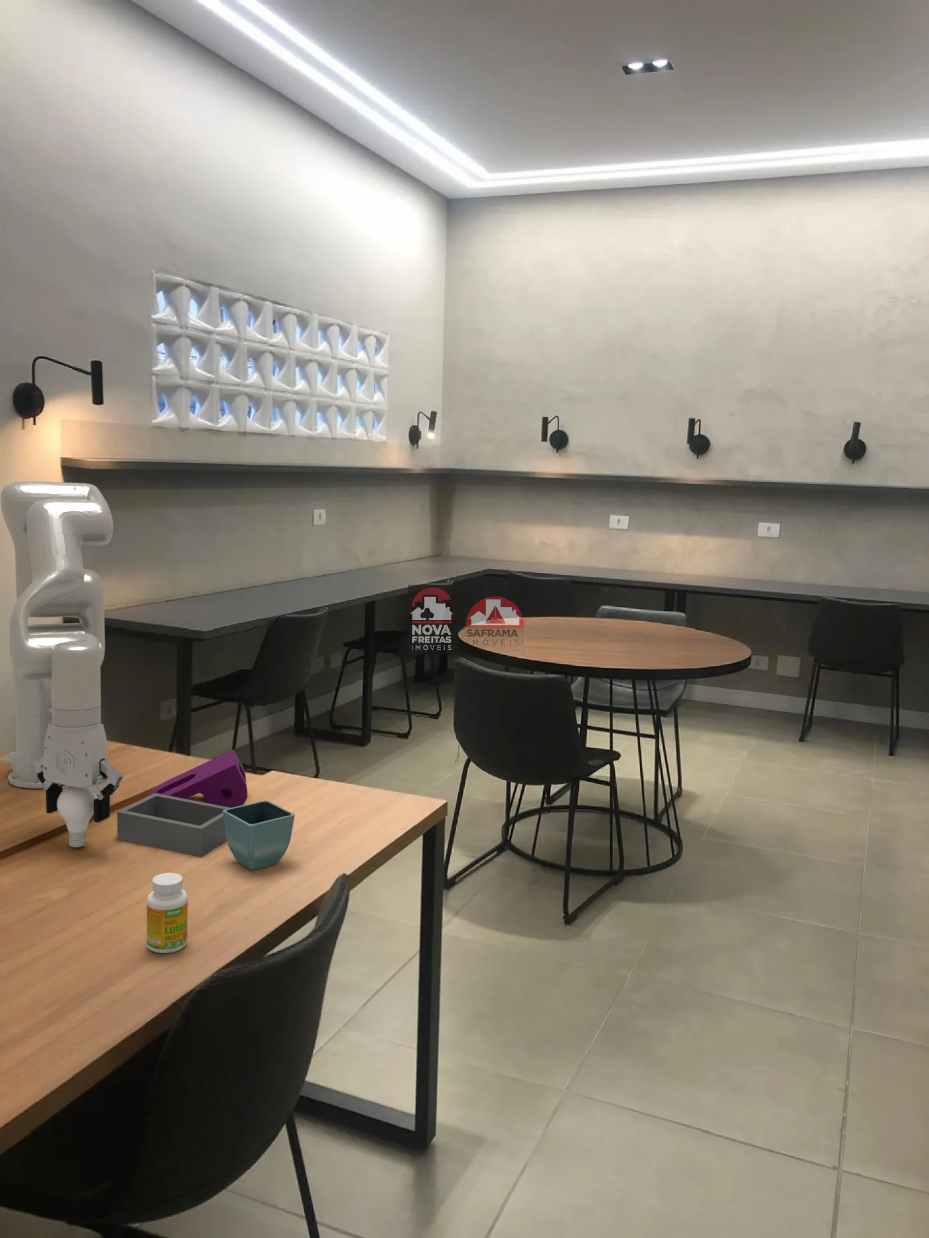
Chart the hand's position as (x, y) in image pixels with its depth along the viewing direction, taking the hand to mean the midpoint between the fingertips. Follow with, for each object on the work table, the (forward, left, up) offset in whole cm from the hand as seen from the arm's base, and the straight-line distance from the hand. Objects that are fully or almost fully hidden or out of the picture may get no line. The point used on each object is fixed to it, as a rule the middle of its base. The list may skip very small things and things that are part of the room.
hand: (78, 815), depth 163 cm
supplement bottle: (+33, -21, -6) cm, 39 cm away
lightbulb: (0, 0, -6) cm, 6 cm away
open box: (+12, +11, -6) cm, 17 cm away
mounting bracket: (+5, +26, -6) cm, 28 cm away
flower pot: (+30, +8, -6) cm, 31 cm away
